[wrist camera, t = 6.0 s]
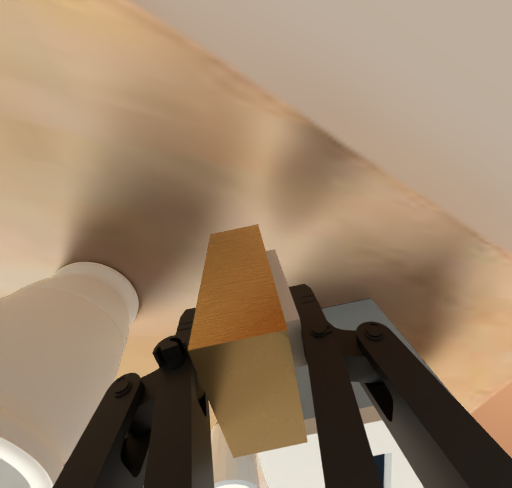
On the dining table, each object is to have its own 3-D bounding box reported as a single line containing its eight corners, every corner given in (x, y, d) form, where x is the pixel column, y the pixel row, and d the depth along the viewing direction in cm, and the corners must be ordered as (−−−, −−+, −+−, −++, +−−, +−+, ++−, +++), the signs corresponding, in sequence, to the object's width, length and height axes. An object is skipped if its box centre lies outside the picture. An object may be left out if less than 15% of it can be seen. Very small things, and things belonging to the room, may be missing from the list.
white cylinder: (252, 411, 34) (256, 476, 27) (259, 442, 36) (263, 507, 30) (201, 420, 34) (193, 486, 27) (212, 449, 36) (207, 517, 30)
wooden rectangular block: (210, 234, 16) (187, 350, 7) (257, 224, 16) (287, 329, 7) (232, 309, 18) (233, 458, 10) (273, 301, 18) (307, 442, 10)
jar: (16, 265, 23) (-304, 449, 9) (122, 238, 23) (-48, 388, 9) (75, 348, 27) (-87, 559, 14) (165, 326, 27) (93, 519, 13)
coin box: (247, 323, 28) (254, 445, 17) (371, 298, 28) (460, 404, 17) (271, 414, 34) (287, 546, 23) (372, 394, 34) (437, 517, 23)
